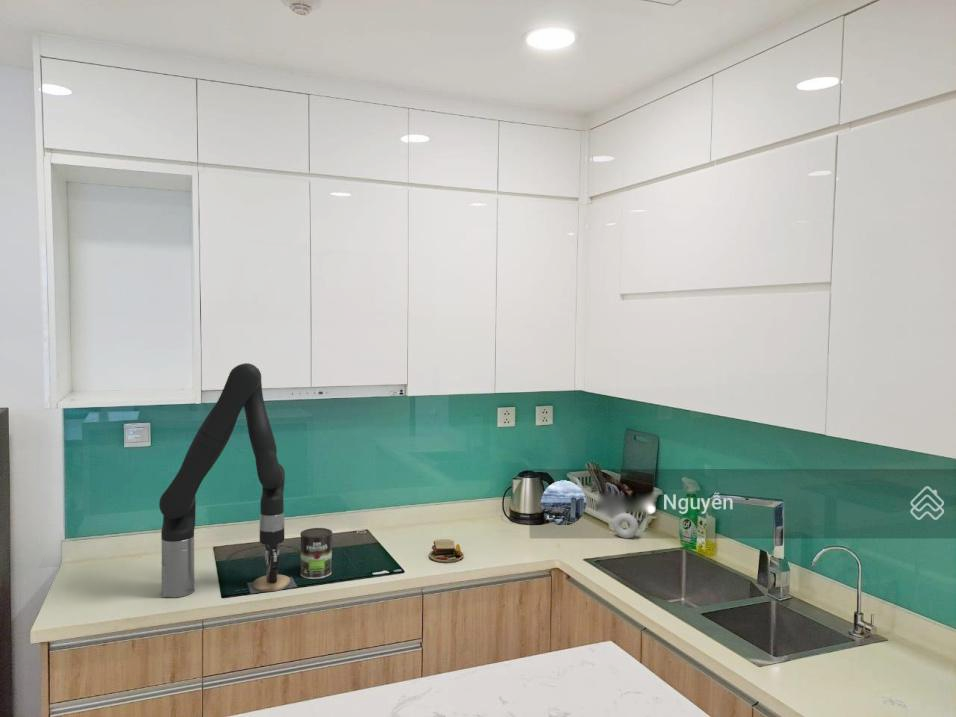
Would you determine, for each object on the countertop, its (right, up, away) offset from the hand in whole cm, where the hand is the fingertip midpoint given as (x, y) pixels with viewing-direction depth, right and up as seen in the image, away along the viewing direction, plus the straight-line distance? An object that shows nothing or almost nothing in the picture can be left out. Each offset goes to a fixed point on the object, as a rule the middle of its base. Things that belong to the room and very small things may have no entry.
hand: (272, 580), depth 218 cm
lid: (0, -1, 0) cm, 1 cm away
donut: (+123, -1, +55) cm, 135 cm away
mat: (0, -2, 0) cm, 2 cm away
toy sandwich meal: (+53, -2, +30) cm, 61 cm away
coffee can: (+11, -2, +11) cm, 16 cm away
